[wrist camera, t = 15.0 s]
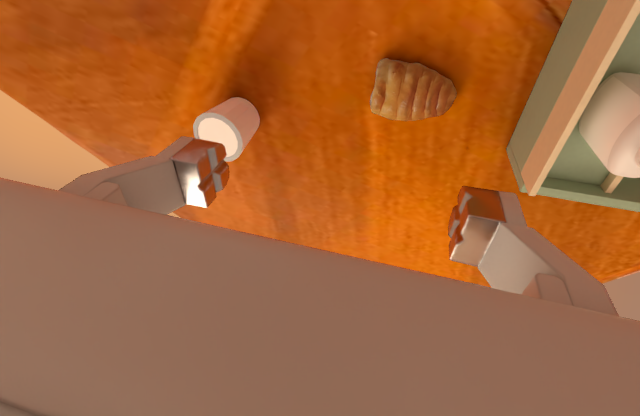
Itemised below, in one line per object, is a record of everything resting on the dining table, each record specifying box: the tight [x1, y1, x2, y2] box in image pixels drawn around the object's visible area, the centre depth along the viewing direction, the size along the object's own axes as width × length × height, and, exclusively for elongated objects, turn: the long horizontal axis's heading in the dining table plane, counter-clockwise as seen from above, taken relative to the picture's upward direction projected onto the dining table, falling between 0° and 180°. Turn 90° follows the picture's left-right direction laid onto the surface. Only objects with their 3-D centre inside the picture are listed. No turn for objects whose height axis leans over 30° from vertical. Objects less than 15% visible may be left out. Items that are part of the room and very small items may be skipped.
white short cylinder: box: [193, 97, 260, 161], centre depth 44 cm, size 7×7×7 cm
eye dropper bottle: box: [579, 72, 640, 178], centre depth 24 cm, size 4×6×12 cm
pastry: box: [370, 58, 457, 121], centre depth 37 cm, size 9×7×4 cm
